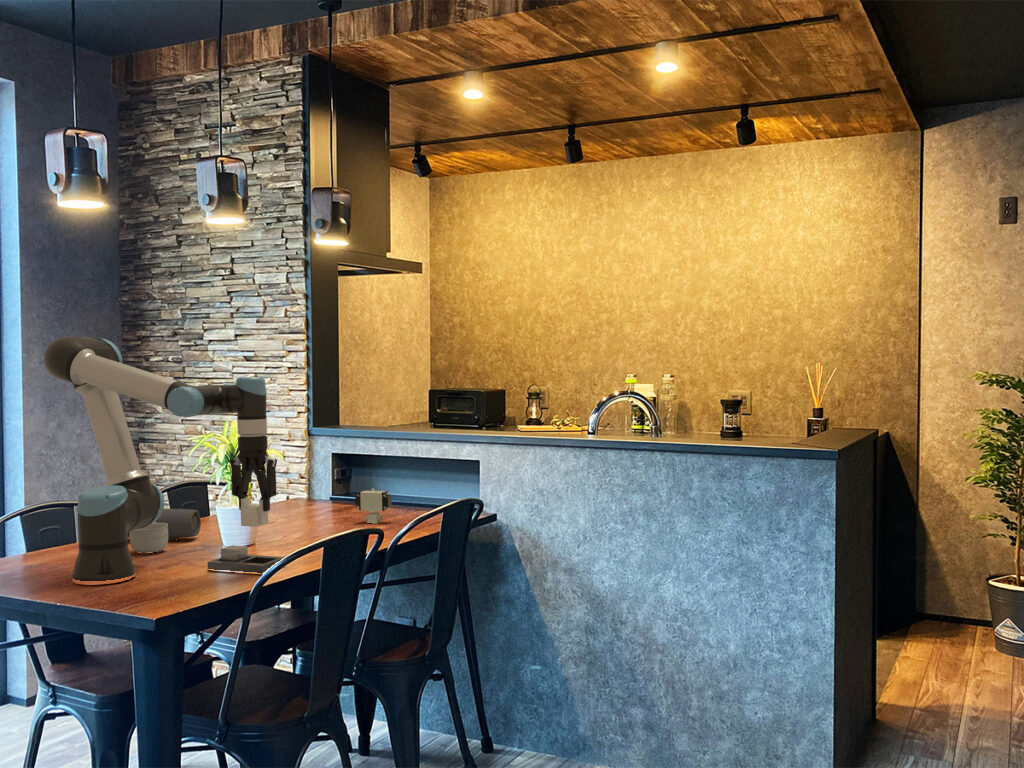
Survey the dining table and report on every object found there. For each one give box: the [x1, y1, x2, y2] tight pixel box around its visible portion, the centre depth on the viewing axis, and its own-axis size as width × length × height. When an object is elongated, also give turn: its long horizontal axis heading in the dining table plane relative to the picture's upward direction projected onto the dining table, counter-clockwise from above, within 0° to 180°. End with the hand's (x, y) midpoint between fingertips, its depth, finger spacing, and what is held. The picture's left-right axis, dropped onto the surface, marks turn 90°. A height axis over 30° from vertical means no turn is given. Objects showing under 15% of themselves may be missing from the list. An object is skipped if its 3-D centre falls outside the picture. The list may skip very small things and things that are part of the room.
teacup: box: [129, 522, 169, 553], centre depth 273 cm, size 14×11×8 cm
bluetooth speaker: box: [128, 508, 202, 541], centre depth 290 cm, size 23×9×10 cm, turn 89°
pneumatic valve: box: [354, 488, 393, 525], centre depth 317 cm, size 6×12×12 cm, turn 80°
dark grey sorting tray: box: [207, 544, 285, 574], centre depth 248 cm, size 11×17×6 cm, turn 71°
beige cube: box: [240, 503, 270, 528], centre depth 244 cm, size 5×5×5 cm
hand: (254, 522), depth 244 cm, fingers closed on beige cube, 5 cm apart
